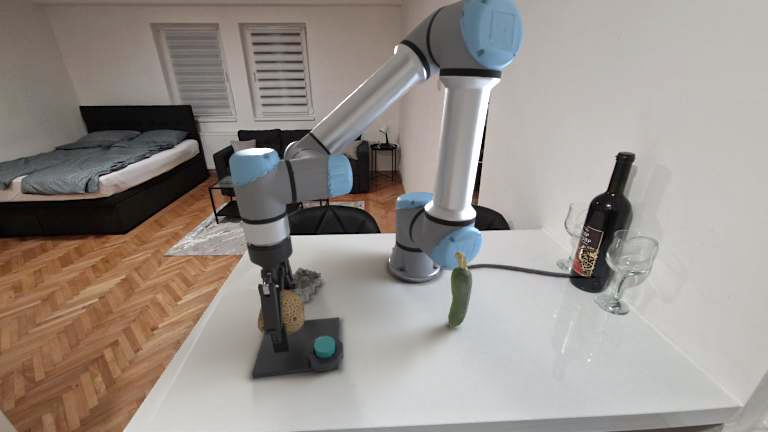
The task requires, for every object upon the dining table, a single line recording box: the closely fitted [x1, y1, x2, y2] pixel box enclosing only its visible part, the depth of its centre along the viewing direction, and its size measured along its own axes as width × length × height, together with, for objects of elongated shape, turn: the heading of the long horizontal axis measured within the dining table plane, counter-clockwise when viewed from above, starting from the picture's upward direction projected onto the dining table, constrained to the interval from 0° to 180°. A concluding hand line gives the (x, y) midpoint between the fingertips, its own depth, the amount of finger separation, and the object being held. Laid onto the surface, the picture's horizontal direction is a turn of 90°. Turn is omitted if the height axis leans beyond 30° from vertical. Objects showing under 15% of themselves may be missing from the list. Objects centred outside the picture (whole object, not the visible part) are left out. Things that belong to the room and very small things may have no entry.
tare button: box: [314, 336, 335, 359], centre depth 59 cm, size 4×4×2 cm
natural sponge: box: [257, 290, 306, 336], centre depth 61 cm, size 9×9×10 cm
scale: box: [251, 316, 344, 379], centre depth 63 cm, size 17×14×3 cm
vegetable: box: [447, 252, 473, 329], centre depth 64 cm, size 4×4×20 cm
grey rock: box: [291, 267, 322, 304], centre depth 80 cm, size 11×8×4 cm
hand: (286, 331), depth 64 cm, fingers closed on natural sponge, 9 cm apart
